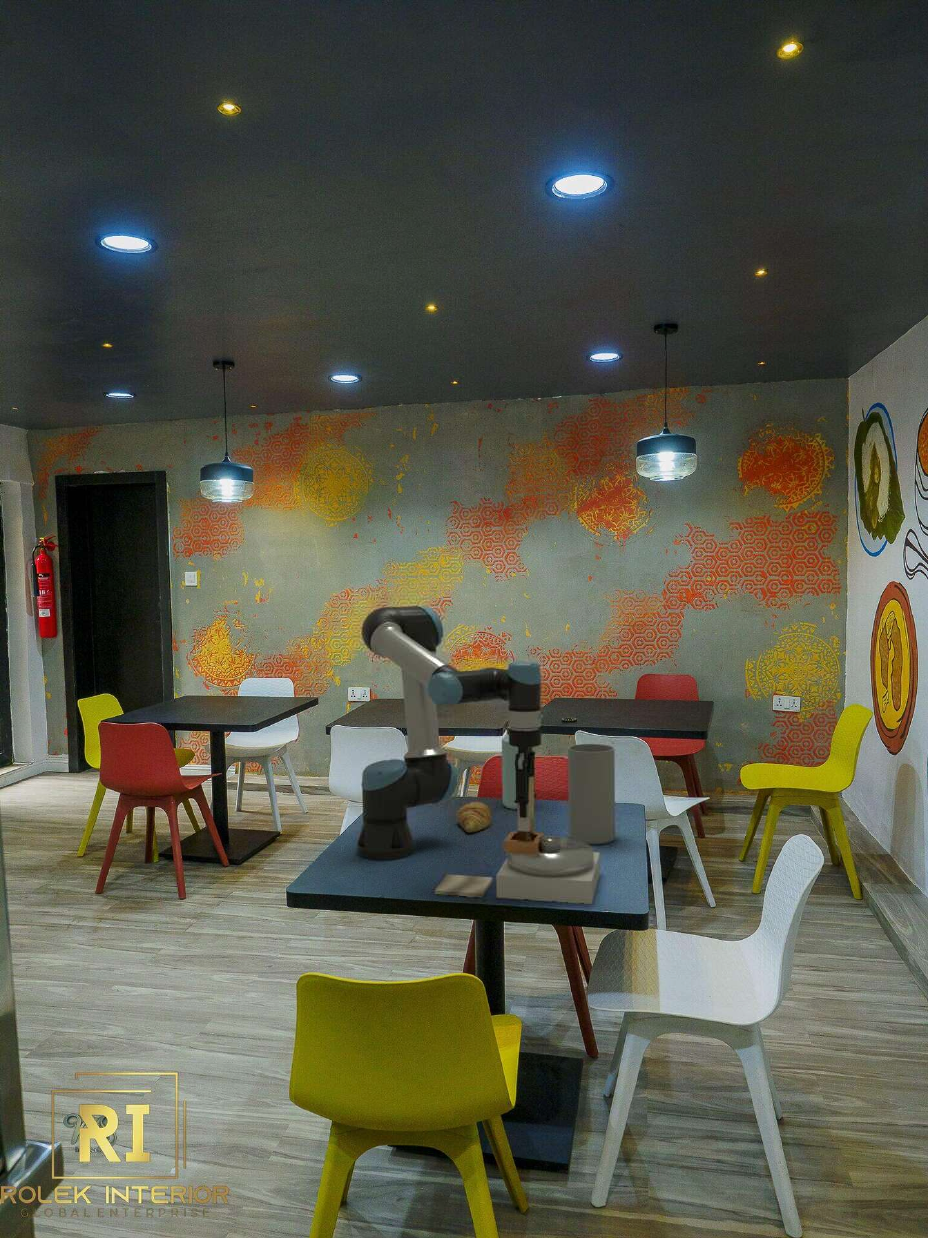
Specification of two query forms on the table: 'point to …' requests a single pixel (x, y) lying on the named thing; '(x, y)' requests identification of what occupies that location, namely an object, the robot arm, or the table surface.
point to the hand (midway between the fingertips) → (525, 828)
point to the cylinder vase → (591, 793)
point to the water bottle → (509, 772)
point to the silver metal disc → (548, 855)
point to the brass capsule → (525, 834)
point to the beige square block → (549, 885)
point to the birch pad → (464, 885)
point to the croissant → (474, 816)
